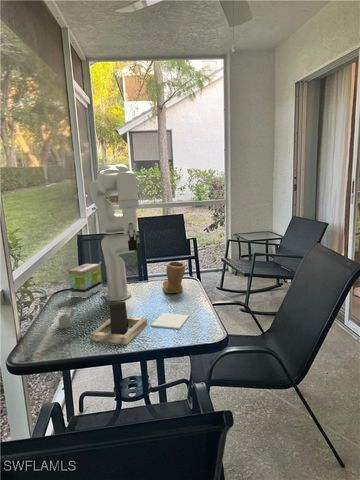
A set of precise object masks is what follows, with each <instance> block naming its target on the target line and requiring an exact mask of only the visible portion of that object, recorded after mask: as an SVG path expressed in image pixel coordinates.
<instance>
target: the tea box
mask: <svg viewBox="0 0 360 480" xmlns="http://www.w3.org/2000/svg"><path fill="white" fill-rule="evenodd" d="M68 280H69V281H68V282H69V290H70V297H71V296H79V297H88V296H89V295H91V294H93V293H94V292H96V291H98V290H100V289H102V288H103V278H102V268H101V264H99V263H84V264H81V265H79V266H76V267H74V268H72V269H68ZM102 290H103V289H102ZM93 295H94V294H93ZM91 296H92V295H91ZM89 297H90V296H89ZM89 297H88V298H89Z"/></svg>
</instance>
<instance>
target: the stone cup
mask: <svg viewBox="0 0 360 480" xmlns="http://www.w3.org/2000/svg"><path fill="white" fill-rule="evenodd" d="M185 273H186V266H185V264H184V263H183V262H180V261H170V262H168V263H167V265H166V277H167V280H164V281H163V282H162V288H163V291H164V292H165V293H167V294H177V293H181V292H182V291H183V289H184V288H183V285H182V281H183V278H184V275H185Z"/></svg>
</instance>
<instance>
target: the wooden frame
mask: <svg viewBox="0 0 360 480" xmlns="http://www.w3.org/2000/svg"><path fill="white" fill-rule="evenodd" d="M127 318H128V325H129V326H132V327H131V328H129V329H128V332H127V333H126V334H124V335H120V334H111V332H108V331H110V330H111V323H110V318H109V319H108V320H107V321H105V322H104V323H103V324H101V325H100V326H99V327H98V328H96V329H95V330H93V331H92V332H91V333H90V334H89V335H90V340H91V341H95V342H103V343H111V344H118V345H128V344H129V343H130V342H131V341H132V340H133V339H134V338H135V337H136V336H137V335H138V334H139V333H140V332H141V331H142V330H143V329H144V328H145V327H146V326H147V325H148V319H147V318H145V317H134V316H127ZM107 332H108V333H107Z"/></svg>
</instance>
